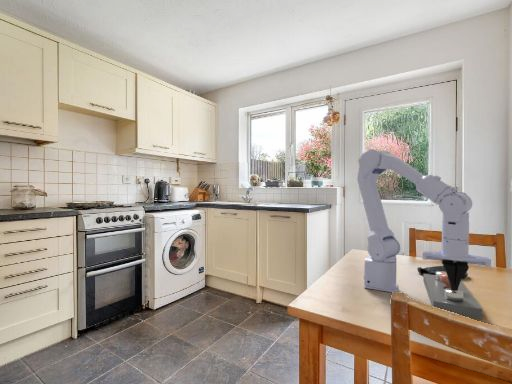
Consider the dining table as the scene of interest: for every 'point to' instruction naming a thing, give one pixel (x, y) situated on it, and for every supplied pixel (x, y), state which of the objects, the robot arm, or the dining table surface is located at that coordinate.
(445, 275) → the middle knob
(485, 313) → the dining table surface
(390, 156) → the robot arm
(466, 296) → the knob mount
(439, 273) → the far knob
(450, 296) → the near knob
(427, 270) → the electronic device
